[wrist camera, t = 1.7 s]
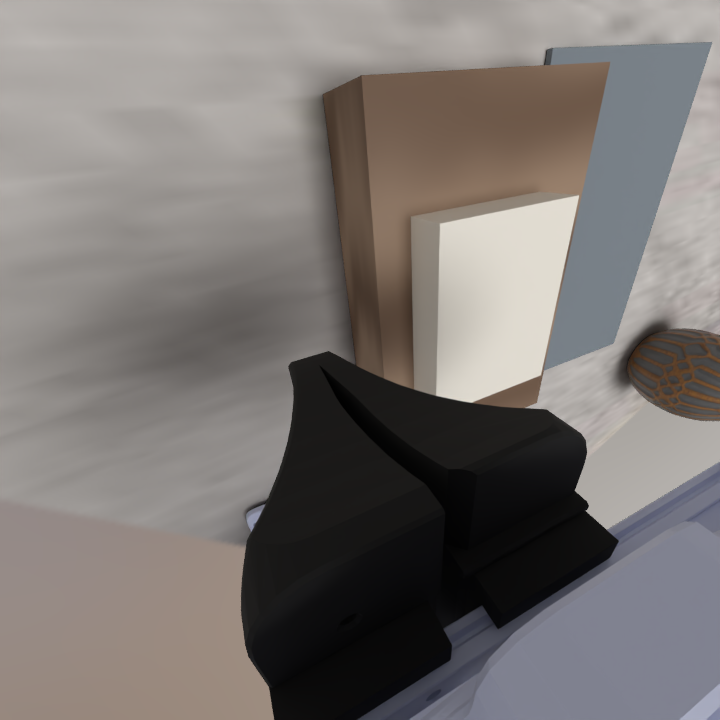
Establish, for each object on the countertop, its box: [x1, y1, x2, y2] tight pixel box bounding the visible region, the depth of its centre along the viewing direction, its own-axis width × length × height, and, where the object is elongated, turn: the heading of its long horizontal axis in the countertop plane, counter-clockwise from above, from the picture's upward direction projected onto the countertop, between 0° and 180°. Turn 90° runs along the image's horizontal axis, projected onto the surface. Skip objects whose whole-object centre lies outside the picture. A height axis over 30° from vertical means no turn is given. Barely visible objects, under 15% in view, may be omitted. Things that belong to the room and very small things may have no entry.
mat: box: [544, 42, 712, 370], centre depth 21 cm, size 18×11×1 cm, turn 7°
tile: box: [411, 192, 579, 403], centre depth 15 cm, size 8×6×2 cm
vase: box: [627, 329, 720, 421], centre depth 28 cm, size 7×7×9 cm
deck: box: [323, 62, 610, 408], centre depth 17 cm, size 16×10×4 cm, turn 7°
